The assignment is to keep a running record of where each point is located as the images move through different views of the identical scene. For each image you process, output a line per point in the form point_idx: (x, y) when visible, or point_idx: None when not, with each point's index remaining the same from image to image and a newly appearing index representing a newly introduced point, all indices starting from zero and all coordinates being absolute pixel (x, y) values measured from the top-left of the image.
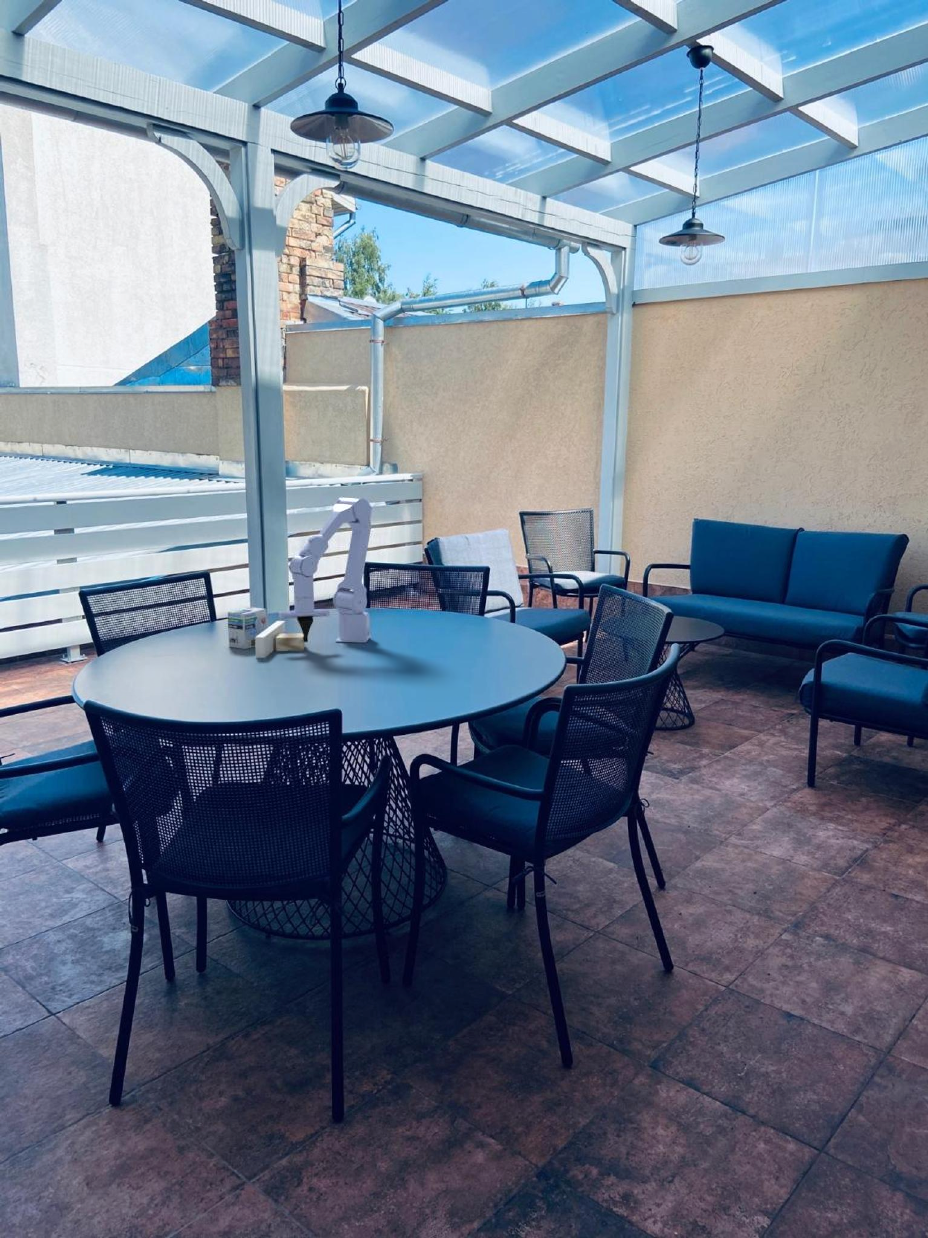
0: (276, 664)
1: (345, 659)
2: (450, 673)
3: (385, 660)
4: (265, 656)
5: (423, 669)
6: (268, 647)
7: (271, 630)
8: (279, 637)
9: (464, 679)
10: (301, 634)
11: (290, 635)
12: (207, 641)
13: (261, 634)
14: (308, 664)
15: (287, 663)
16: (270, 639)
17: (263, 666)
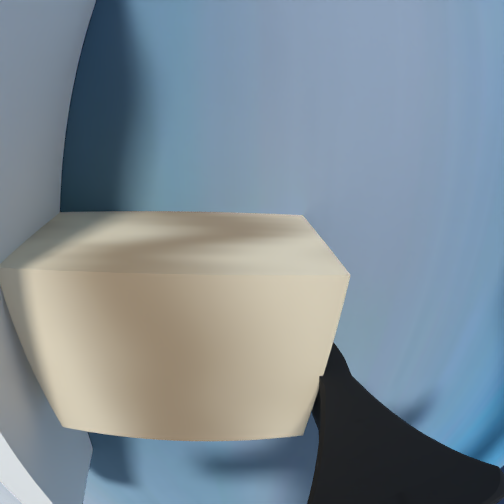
0: (172, 497)
1: None
2: (501, 449)
3: (489, 420)
4: (90, 443)
5: (491, 447)
6: (72, 440)
7: (6, 453)
8: (86, 423)
9: (491, 463)
10: (302, 338)
11: (168, 375)
12: None
13: (26, 500)
14: (283, 495)
15: (209, 494)
16: (53, 448)
17: (137, 501)
